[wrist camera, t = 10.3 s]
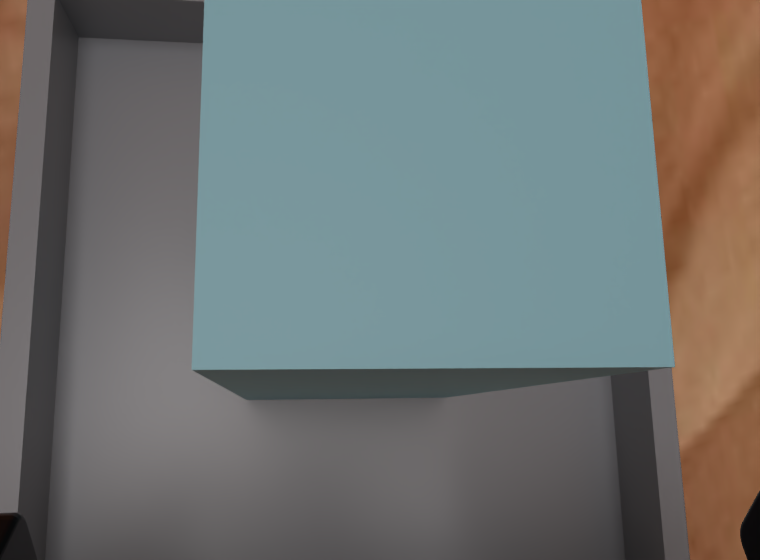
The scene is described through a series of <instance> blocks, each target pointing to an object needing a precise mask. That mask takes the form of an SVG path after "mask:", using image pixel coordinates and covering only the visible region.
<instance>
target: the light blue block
mask: <svg viewBox="0 0 760 560" xmlns="http://www.w3.org/2000/svg"><path fill="white" fill-rule="evenodd" d="M672 367H675V363H674V352H673V341H672V330H671V320H670V309H669V298H668V287H667V276H666V266H665V255H664V244H663V233H662V222H661V211H660V201H659V190H658V179H657V168H656V157H655V147H654V136H653V125H652V114H651V103H650V93H649V82H648V71H647V60H646V49H645V39H644V28H643V17H642V6H641V0H204V26H203V55H202V84H201V112H200V141H199V170H198V198H197V227H196V256H195V284H194V313H193V342H192V370H193V371H194V372H196V373H198V374H200V375H202V376H204V377H205V378H207V379H209V380H211V381H213V382H215V383H216V384H218V385H220V386H222V387H224V388H226V389H227V390H229V391H231V392H233V393H235V394H237V395H238V396H240V397H242V398H244V399H246V400H283V399H370V398H446V397H454V396H461V395H469V394H476V393H484V392H491V391H499V390H506V389H514V388H521V387H529V386H536V385H544V384H551V383H559V382H566V381H574V380H581V379H589V378H596V377H604V376H611V375H619V374H626V373H634V372H642V371H649V370H657V369H664V368H672Z"/></svg>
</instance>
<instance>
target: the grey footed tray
mask: <svg viewBox="0 0 760 560" xmlns="http://www.w3.org/2000/svg"><path fill="white" fill-rule="evenodd" d="M203 26H204V0H28V3H27V15H26V28H25V40H24V53H23V65H22V78H21V90H20V103H19V115H18V127H17V140H16V152H15V165H14V177H13V190H12V202H11V215H10V227H9V240H8V252H7V264H6V277H5V289H4V302H3V314H2V327H1V339H0V513H13V512H17V513H21V514H22V515H23V516H24V517H25V519H26V521H27V524H28V527H29V531H30V534H31V537H32V541H33V544H34V548H35V551H36V554H37V560H690V555H689V545H688V535H687V524H686V514H685V504H684V493H683V483H682V473H681V462H680V452H679V441H678V431H677V421H676V410H675V400H674V390H673V379H672V369H671V368H664V369H657V370H649V371H642V372H634V373H626V374H619V375H611V376H604V377H596V378H589V379H581V380H574V381H566V382H559V383H551V384H544V385H536V386H529V387H521V388H514V389H506V390H499V391H491V392H484V393H476V394H469V395H461V396H454V397H446V398H370V399H283V400H246V399H244V398H242V397H240V396H238V395H237V394H235V393H233V392H231V391H229V390H227V389H226V388H224V387H222V386H220V385H218V384H216V383H215V382H213V381H211V380H209V379H207V378H205V377H204V376H202V375H200V374H198V373H196V372H194V371H193V370H192V342H193V313H194V284H195V256H196V227H197V198H198V170H199V141H200V112H201V84H202V55H203Z"/></svg>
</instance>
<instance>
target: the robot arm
mask: <svg viewBox="0 0 760 560" xmlns="http://www.w3.org/2000/svg"><path fill="white" fill-rule="evenodd" d="M740 537H741V542H742V546H743V549H744V551H745V554H746V557H747V559H748V560H760V491H759V493H758V495H757V496H756V498H755V500H754V502H753V504H752V506H751V507H750V509H749V511H748V513H747V515H746V517H745V518H744V520H743V522H742V525H741V529H740ZM0 560H37V554H36V551H35V548H34V544H33V541H32V537H31V534H30V531H29V527H28V524H27V521H26V519H25V517H24V516H23V515H22V514H21V513H17V512H13V513H0Z"/></svg>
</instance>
